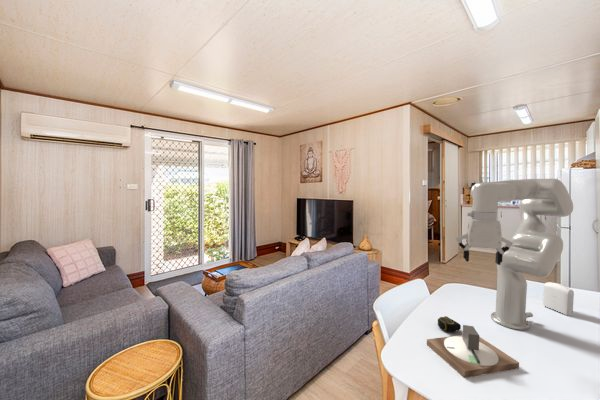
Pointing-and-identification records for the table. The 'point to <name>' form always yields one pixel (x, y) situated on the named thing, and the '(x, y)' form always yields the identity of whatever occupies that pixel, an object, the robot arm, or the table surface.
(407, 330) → the table surface
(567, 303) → the photo printer
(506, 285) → the robot arm
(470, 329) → the grey mallet
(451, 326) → the tape measure
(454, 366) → the tuner board
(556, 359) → the table surface
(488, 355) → the dial face
